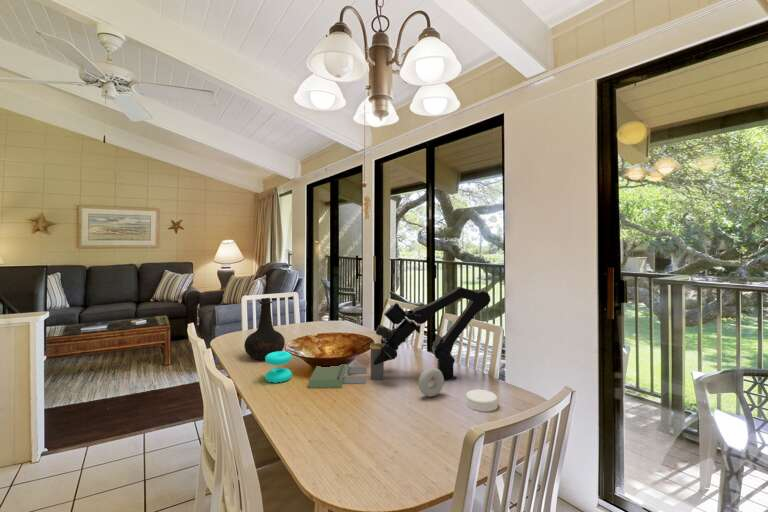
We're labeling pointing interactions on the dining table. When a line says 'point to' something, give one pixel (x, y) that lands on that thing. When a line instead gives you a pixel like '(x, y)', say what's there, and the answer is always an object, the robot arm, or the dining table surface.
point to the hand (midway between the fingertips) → (374, 360)
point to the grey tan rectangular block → (378, 369)
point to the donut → (425, 379)
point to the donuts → (278, 373)
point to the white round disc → (481, 400)
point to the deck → (336, 376)
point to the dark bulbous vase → (264, 335)
